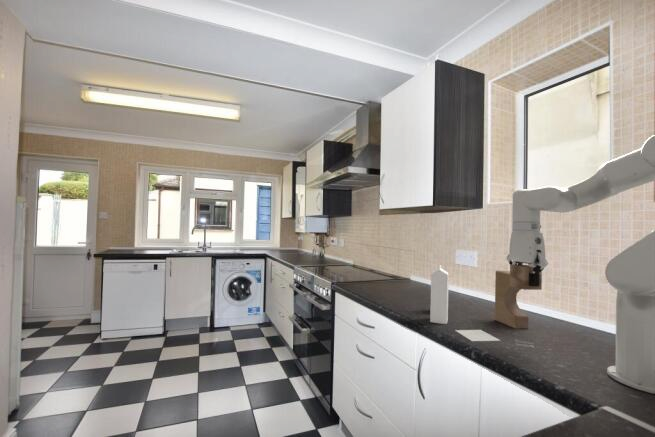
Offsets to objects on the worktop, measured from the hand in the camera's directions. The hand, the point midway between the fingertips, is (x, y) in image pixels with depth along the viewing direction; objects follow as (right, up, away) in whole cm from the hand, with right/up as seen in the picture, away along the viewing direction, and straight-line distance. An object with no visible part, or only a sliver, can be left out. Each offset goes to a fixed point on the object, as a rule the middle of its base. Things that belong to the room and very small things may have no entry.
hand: (525, 283), depth 95 cm
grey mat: (-13, -19, +6) cm, 24 cm away
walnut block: (0, -1, 0) cm, 1 cm away
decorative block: (+8, -20, +20) cm, 30 cm away
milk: (-20, -20, +21) cm, 35 cm away
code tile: (-1, -19, 0) cm, 19 cm away
